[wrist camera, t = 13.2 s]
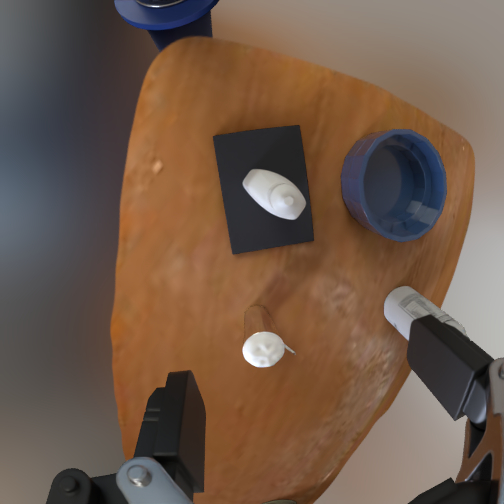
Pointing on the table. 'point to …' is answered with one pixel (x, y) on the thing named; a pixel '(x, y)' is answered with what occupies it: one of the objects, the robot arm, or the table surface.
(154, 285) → the table surface
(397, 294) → the energy drink can
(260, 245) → the mat
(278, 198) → the eye dropper bottle
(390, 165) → the bowl
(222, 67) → the table surface
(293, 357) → the table surface
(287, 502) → the can
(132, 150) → the table surface
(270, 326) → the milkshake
